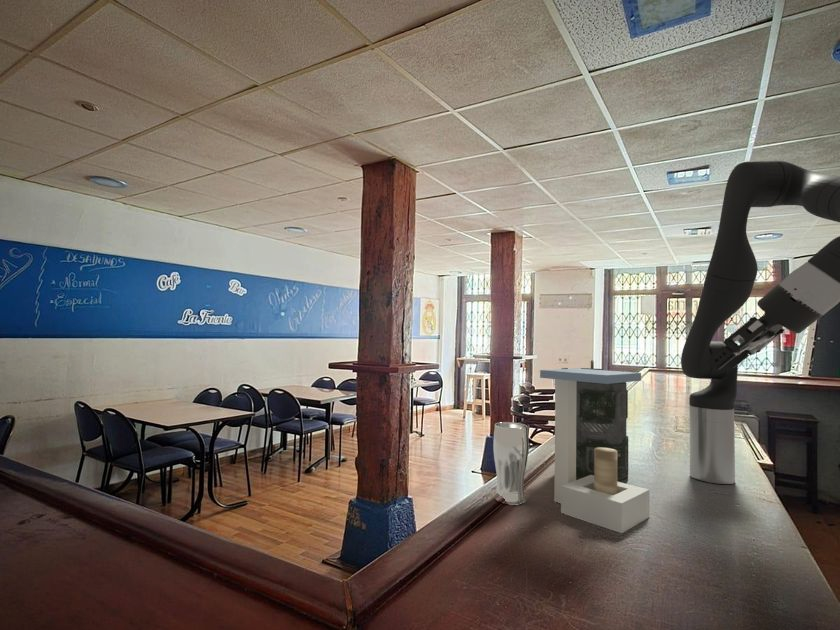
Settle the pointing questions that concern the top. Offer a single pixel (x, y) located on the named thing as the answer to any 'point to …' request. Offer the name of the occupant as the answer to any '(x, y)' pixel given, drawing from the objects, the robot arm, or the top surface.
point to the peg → (605, 470)
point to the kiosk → (568, 491)
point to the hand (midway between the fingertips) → (719, 365)
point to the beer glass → (510, 460)
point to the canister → (601, 424)
